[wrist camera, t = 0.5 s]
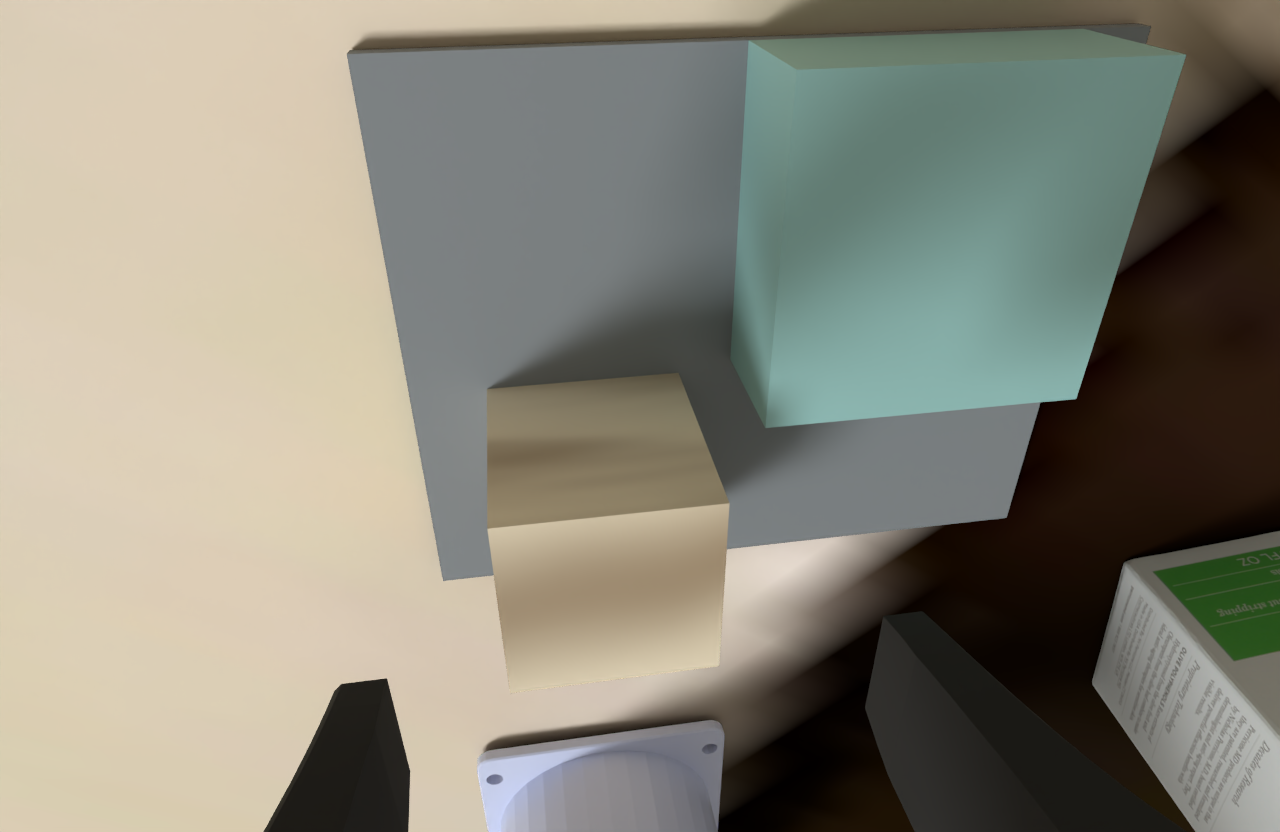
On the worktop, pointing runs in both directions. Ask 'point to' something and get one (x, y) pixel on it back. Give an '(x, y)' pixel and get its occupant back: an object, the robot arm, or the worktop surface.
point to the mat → (620, 279)
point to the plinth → (935, 216)
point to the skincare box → (1202, 677)
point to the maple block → (603, 531)
